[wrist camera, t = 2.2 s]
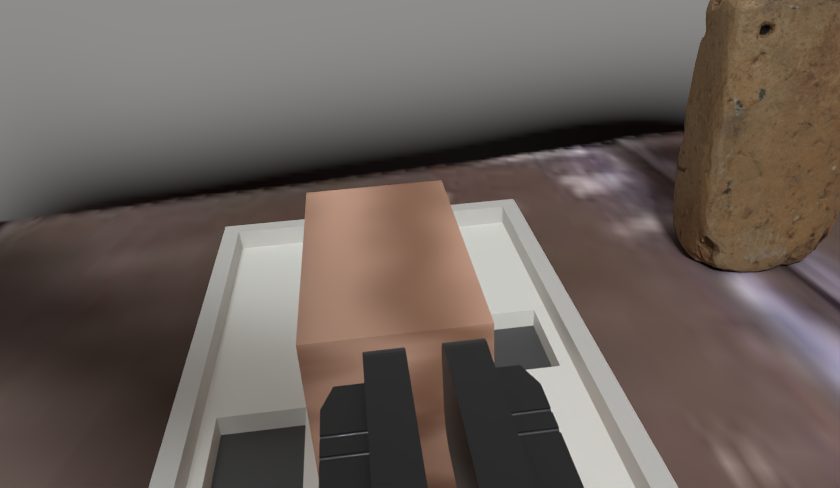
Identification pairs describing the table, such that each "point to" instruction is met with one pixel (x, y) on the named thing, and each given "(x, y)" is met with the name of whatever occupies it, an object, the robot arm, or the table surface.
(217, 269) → the box
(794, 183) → the block
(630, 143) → the table surface
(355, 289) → the terracotta block
